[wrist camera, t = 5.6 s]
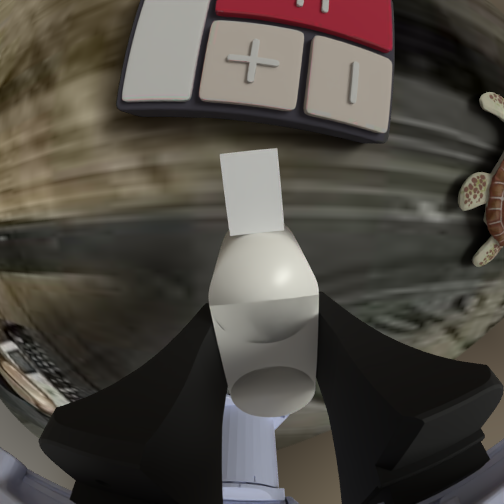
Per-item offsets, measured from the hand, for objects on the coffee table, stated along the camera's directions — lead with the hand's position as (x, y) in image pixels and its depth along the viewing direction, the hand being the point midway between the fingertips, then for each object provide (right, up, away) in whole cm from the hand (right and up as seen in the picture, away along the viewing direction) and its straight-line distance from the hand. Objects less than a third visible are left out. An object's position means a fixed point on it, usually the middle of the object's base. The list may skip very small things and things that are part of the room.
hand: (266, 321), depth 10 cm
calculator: (0, +16, +4) cm, 16 cm away
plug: (0, +2, +1) cm, 2 cm away
